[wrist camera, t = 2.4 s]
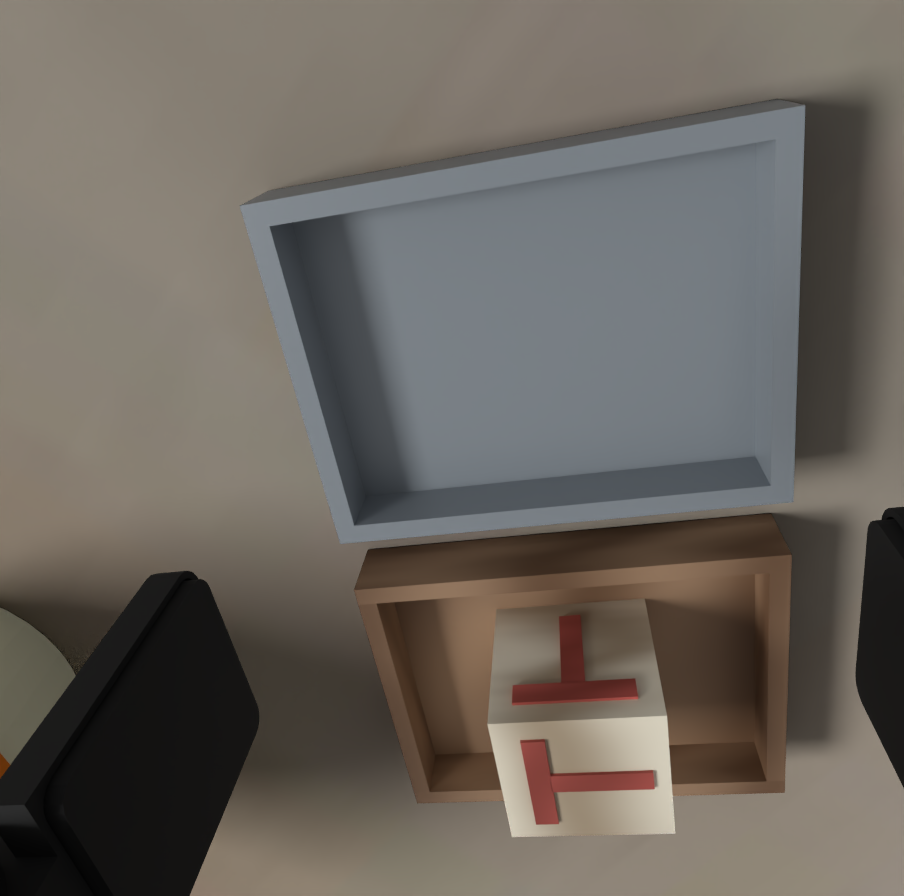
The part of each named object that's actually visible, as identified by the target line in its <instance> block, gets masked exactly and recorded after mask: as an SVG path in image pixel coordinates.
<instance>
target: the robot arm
mask: <svg viewBox="0 0 904 896" xmlns="http://www.w3.org/2000/svg"><path fill="white" fill-rule="evenodd" d="M856 684H857V689H858V693H859V696H860V699H861V702H862V704H863V706H864V708H865V710H866V712H867V714H868V716H869V718H870V720H871V722H872V724H873V726H874V728H875V730H876V732H877V734H878V736H879V738H880V740H881V743H882V745H883V747H884V749H885V751H886V753H887V755H888V757H889V759H890V761H891V763H892V765H893V767H894V769H895V771H896V773H897V775H898V777H899V779H900V781H901V783H902V785H903V787H904V507H896V508H888V509H886V510H885V511H884V513H883V515H882V520H876V521H872V522H870V524H869V526H868V533H867V544H866V556H865V568H864V580H863V591H862V603H861V615H860V627H859V638H858V650H857V662H856ZM258 725H259V709H258V706H257V703H256V701H255V698H254V696H253V693H252V691H251V688H250V686H249V683H248V681H247V678H246V676H245V673H244V671H243V669H242V666H241V664H240V661H239V659H238V656H237V654H236V651H235V649H234V646H233V644H232V641H231V639H230V637H229V634H228V632H227V629H226V627H225V624H224V622H223V619H222V617H221V614H220V612H219V609H218V607H217V605H216V602H215V600H214V597H213V595H212V592H211V590H210V587H209V586H208V584H207V582H205V581H204V580H201V579H199V580H198V578H197V576H196V575H195V574H194V573H193V572H190V571H181V572H170V573H159V574H154V575H151V576H150V577H149V578H148V579H147V580H146V581H145V582H144V584H143V585H142V586H141V588H140V589H139V591H138V592H137V593H136V595H135V596H134V597H133V599H132V600H131V601H130V603H129V604H128V605H127V607H126V608H125V610H124V611H123V612H122V614H121V615H120V616H119V618H118V619H117V620H116V622H115V623H114V625H113V626H112V627H111V629H110V630H109V631H108V633H107V634H106V635H105V637H104V638H103V639H102V641H101V642H100V644H99V645H98V646H97V648H96V649H95V650H94V652H93V653H92V654H91V656H90V657H89V659H88V660H87V661H86V663H85V664H84V665H83V667H82V668H81V669H80V671H79V672H78V673H77V675H76V676H75V678H74V679H73V680H72V682H71V683H70V684H69V686H68V687H67V688H66V690H65V691H64V693H63V694H62V695H61V697H60V698H59V699H58V701H57V702H56V703H55V705H54V706H53V707H52V709H51V710H50V712H49V713H48V714H47V716H46V717H45V718H44V720H43V721H42V722H41V724H40V725H39V727H38V728H37V729H36V731H35V732H34V733H33V735H32V736H31V737H30V739H29V740H28V741H27V743H26V744H25V746H24V747H23V748H22V750H21V751H20V752H19V754H18V755H17V756H16V758H15V759H14V761H13V762H12V763H11V765H10V766H9V767H8V769H7V770H6V771H5V773H4V774H3V776H2V777H1V778H0V896H190V893H191V891H192V888H193V886H194V884H195V881H196V879H197V876H198V874H199V871H200V869H201V866H202V864H203V862H204V859H205V857H206V854H207V852H208V849H209V847H210V845H211V842H212V840H213V837H214V835H215V832H216V830H217V828H218V825H219V823H220V820H221V818H222V815H223V813H224V811H225V808H226V806H227V803H228V801H229V798H230V796H231V794H232V791H233V789H234V786H235V784H236V781H237V779H238V776H239V774H240V772H241V769H242V767H243V764H244V762H245V759H246V757H247V755H248V752H249V750H250V747H251V745H252V742H253V740H254V738H255V735H256V733H257V729H258Z"/></svg>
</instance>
